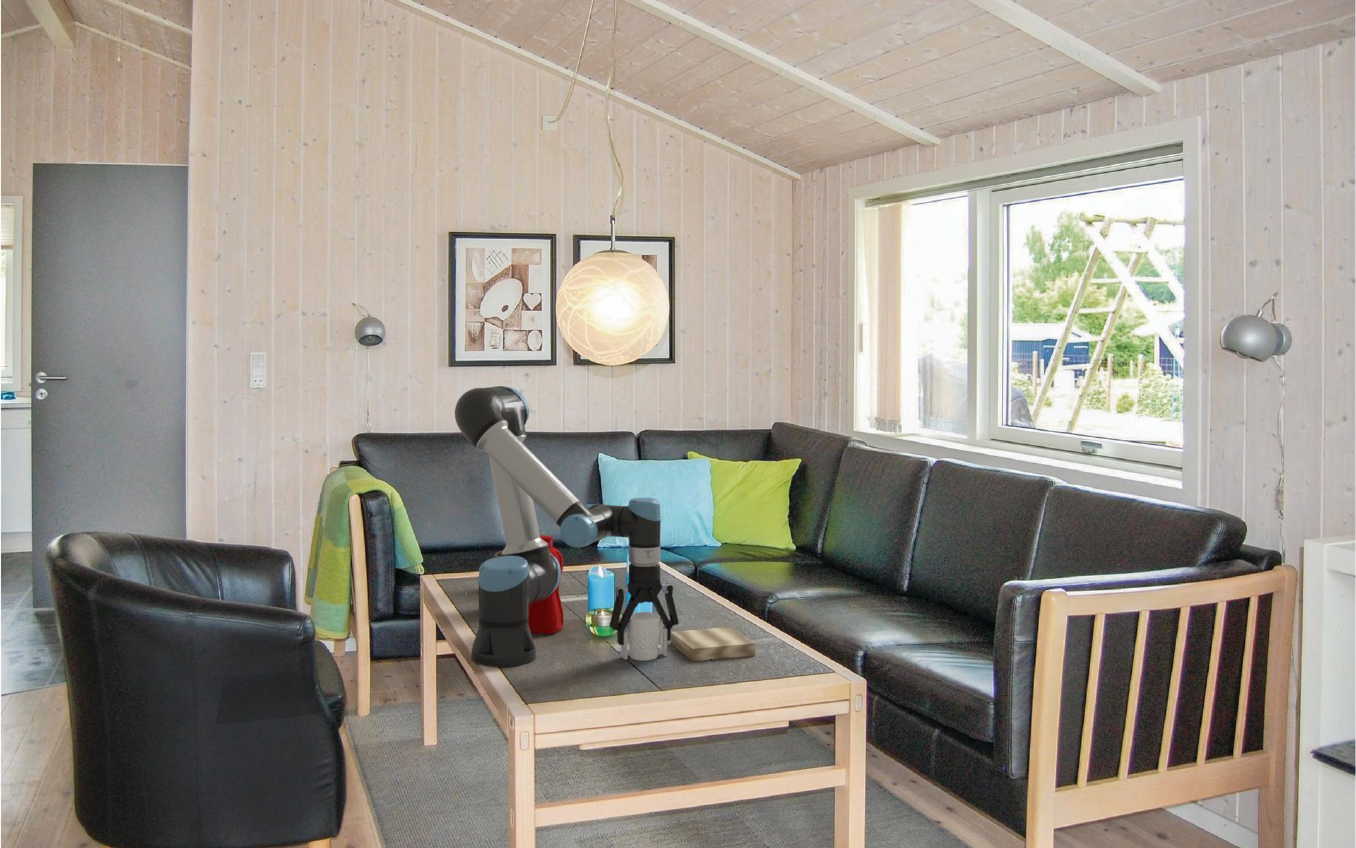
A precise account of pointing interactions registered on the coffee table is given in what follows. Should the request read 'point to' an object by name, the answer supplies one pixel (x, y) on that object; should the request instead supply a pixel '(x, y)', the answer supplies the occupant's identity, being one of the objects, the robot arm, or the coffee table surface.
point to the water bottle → (547, 604)
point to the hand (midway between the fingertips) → (644, 656)
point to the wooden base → (712, 643)
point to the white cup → (644, 635)
